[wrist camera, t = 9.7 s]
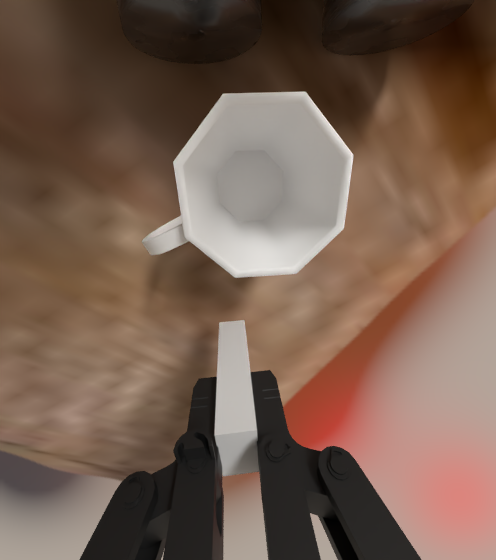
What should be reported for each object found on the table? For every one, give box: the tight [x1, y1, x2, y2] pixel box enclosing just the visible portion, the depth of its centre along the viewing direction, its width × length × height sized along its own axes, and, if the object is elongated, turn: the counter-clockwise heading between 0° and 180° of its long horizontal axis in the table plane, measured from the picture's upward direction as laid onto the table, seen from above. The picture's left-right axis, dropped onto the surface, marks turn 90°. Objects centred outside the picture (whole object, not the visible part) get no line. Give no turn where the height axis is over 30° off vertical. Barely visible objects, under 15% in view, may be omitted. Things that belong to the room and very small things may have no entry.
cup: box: [142, 92, 353, 278], centre depth 13 cm, size 7×10×8 cm
